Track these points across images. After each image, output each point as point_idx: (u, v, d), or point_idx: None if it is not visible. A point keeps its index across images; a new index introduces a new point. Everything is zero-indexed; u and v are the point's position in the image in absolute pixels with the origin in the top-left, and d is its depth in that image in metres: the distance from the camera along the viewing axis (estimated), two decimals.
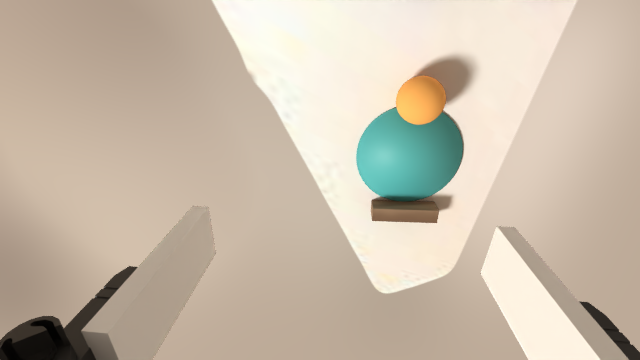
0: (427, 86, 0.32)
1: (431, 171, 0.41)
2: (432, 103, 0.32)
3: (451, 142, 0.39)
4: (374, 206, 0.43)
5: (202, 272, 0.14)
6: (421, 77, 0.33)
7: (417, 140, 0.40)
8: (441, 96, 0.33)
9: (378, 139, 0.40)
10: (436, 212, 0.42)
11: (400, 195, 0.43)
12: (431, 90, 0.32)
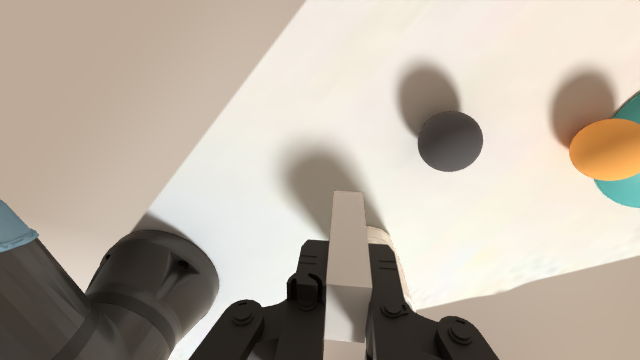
0: (604, 155, 0.25)
1: None
2: (635, 153, 0.24)
3: None
4: None
5: None
6: (581, 154, 0.27)
7: None
8: (627, 137, 0.24)
9: (629, 182, 0.31)
10: None
11: None
12: (613, 152, 0.25)
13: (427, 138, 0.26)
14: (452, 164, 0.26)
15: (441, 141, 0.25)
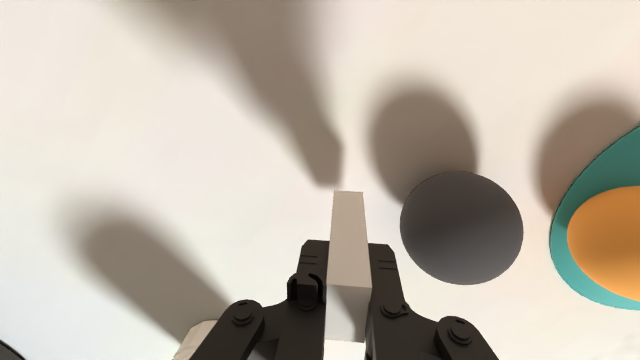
0: None
1: None
2: None
3: None
4: None
5: None
6: None
7: None
8: None
9: None
10: None
11: None
12: None
13: None
14: None
15: None
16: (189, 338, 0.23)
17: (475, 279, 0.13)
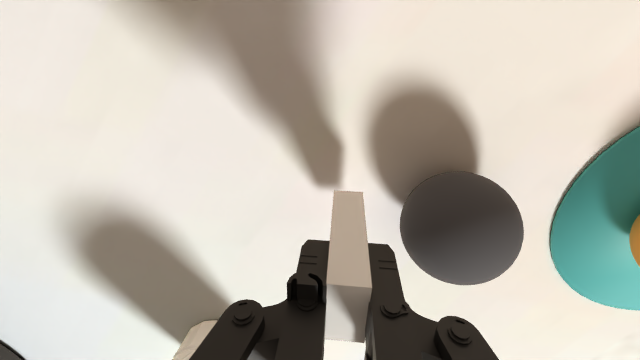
0: None
1: None
2: None
3: None
4: None
5: None
6: None
7: None
8: None
9: (613, 273, 0.18)
10: None
11: None
12: None
13: None
14: None
15: None
16: (189, 338, 0.23)
17: (475, 279, 0.13)
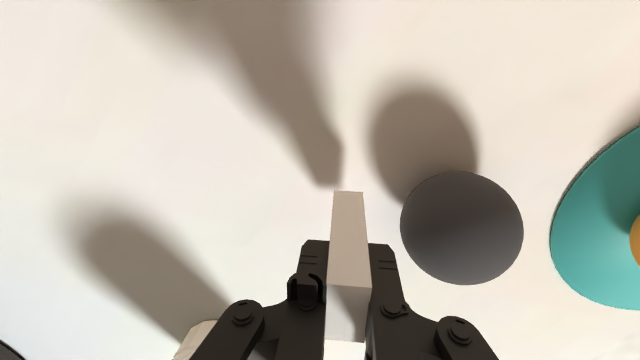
0: None
1: None
2: None
3: None
4: None
5: None
6: None
7: None
8: None
9: (613, 273, 0.18)
10: None
11: None
12: None
13: None
14: None
15: None
16: (189, 338, 0.23)
17: (475, 279, 0.13)
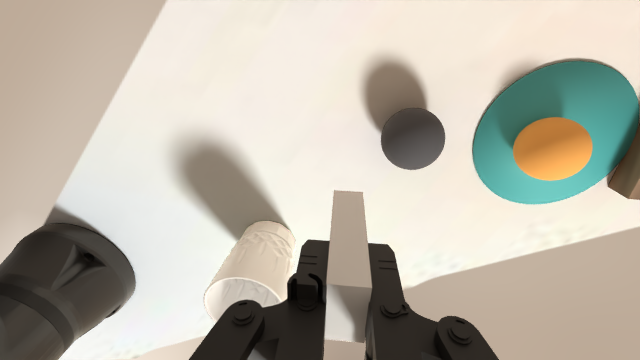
0: None
1: (590, 106, 0.27)
2: None
3: (549, 81, 0.26)
4: (623, 193, 0.28)
5: None
6: (587, 161, 0.25)
7: None
8: None
9: (512, 178, 0.30)
10: None
11: (617, 148, 0.28)
12: None
13: None
14: None
15: None
16: (248, 230, 0.35)
17: (418, 160, 0.25)
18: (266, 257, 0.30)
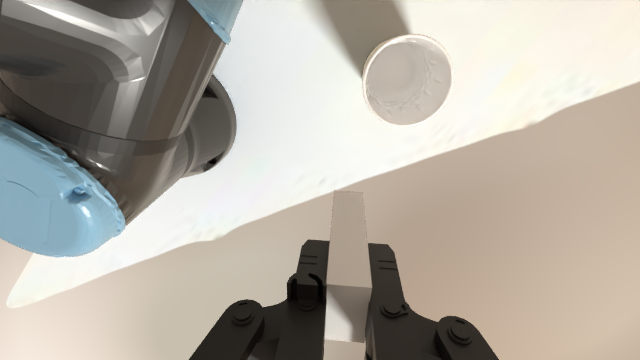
0: None
1: None
2: None
3: None
4: None
5: None
6: None
7: None
8: None
9: None
10: None
11: None
12: None
13: None
14: None
15: None
16: None
17: None
18: None
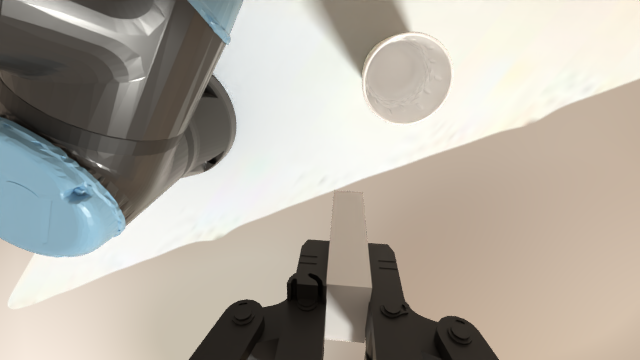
0: None
1: None
2: None
3: None
4: None
5: None
6: None
7: None
8: None
9: None
10: None
11: None
12: None
13: None
14: None
15: None
16: None
17: None
18: None
